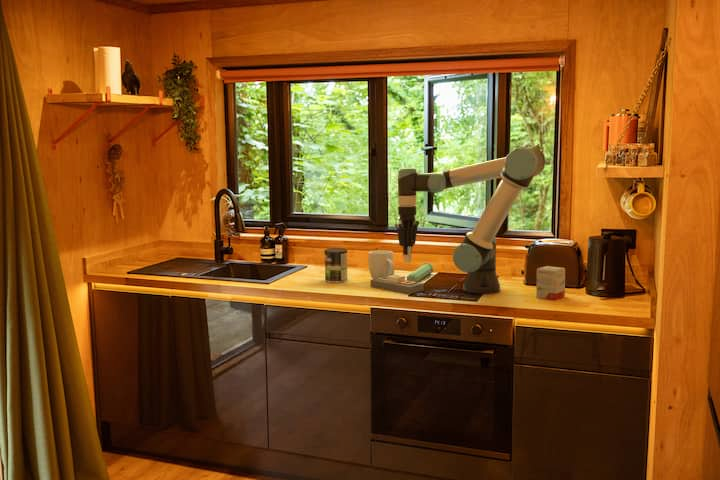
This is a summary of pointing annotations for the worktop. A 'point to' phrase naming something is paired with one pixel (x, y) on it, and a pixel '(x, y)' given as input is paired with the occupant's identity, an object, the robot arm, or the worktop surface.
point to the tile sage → (383, 279)
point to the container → (420, 272)
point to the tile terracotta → (408, 283)
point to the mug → (381, 263)
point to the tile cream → (396, 278)
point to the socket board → (397, 286)
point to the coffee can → (336, 265)
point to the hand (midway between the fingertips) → (407, 261)
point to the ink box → (550, 282)
